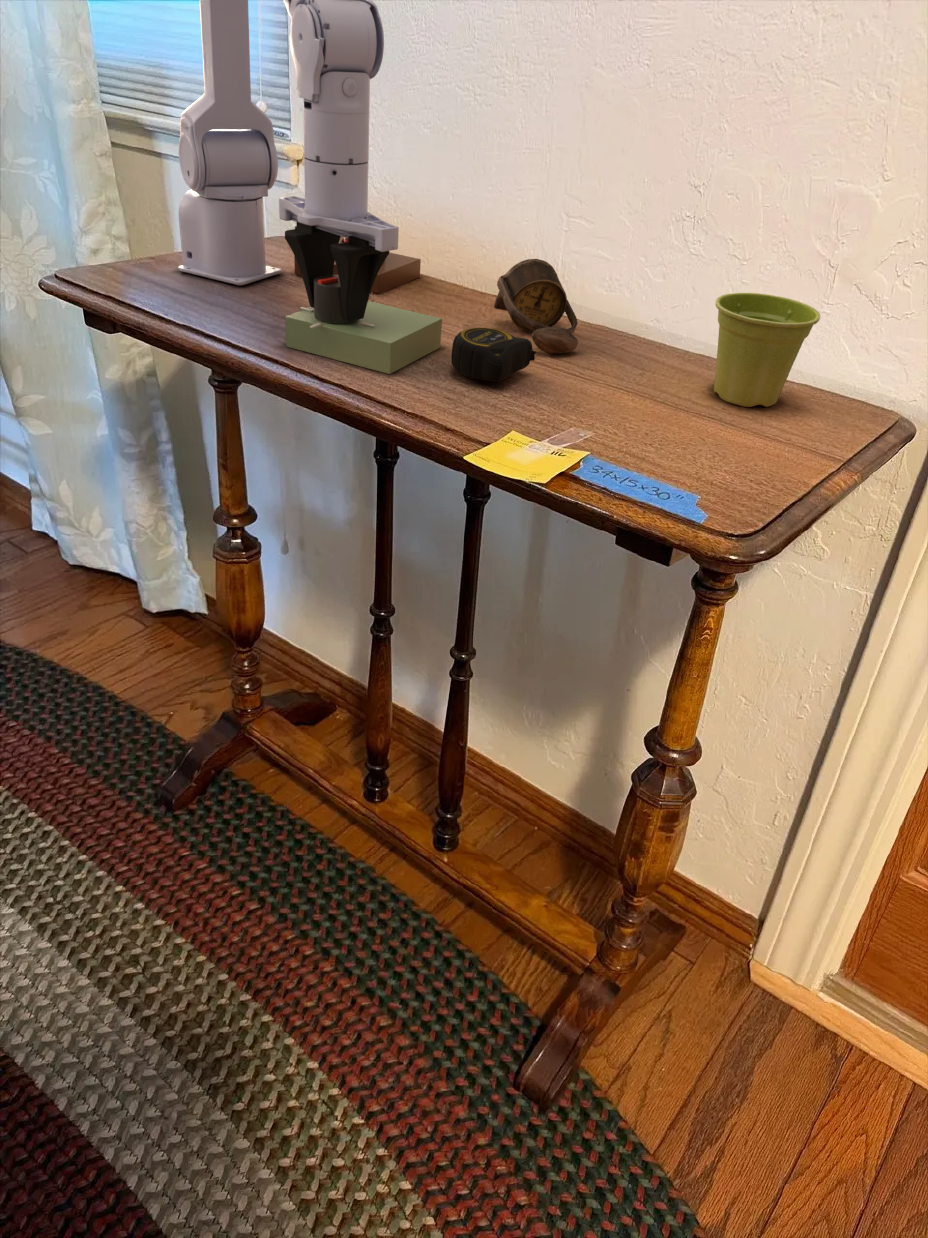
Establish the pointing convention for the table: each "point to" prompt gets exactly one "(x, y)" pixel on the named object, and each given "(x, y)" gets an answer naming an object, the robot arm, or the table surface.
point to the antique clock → (537, 304)
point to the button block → (387, 271)
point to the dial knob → (328, 300)
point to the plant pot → (758, 345)
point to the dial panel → (367, 337)
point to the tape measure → (490, 353)
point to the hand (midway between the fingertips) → (336, 312)
